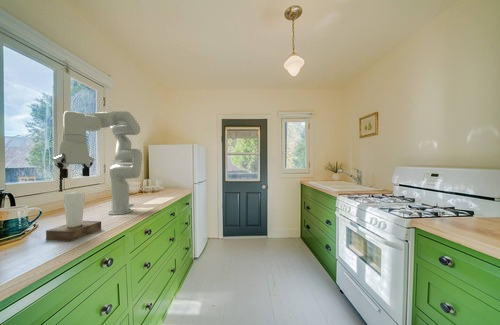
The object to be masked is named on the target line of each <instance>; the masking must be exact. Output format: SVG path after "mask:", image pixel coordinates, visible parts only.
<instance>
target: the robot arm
mask: <svg viewBox="0 0 500 325" xmlns="http://www.w3.org/2000/svg"><path fill="white" fill-rule="evenodd" d="M109 127H110V130H111V133H112V134H113V135H114V136H113V137H114V138H115V141H116V144H115V153H114V160H115V162H116V163H118V164H116V163H115V164H113V165H111V166H110V167H109V176H110V183H111V184H110V185H111V187H110V188H111V190H110V192H111V193H110V194H111V210H110V211H108V215H112V216H116V215H124V214H128V213H129V214H130V213H131V212H132V210H133V209H132V208H133V207H134V206H135V204H134V203H131V204H130V184H129V182H128V181H127V180H126V179H128V180H129V179H130V180H132V179H134V180H135V179H138V178H140V176H141V173H142V164H143V153H142V151H141V150H140V149H139V148H132V141H131V140H130V139H129V137H128V136H137V135H139V134H140V133H141V126H140V125H139V123H138V121H137V120H136V118H135V117H134V115H132V114H131V112H129V111H125V110H124V111H123V110H109V111H100V112H90V113H89V112H88V113H83V112H80V111H74V110H73V111H72V110H67V111H64V113H63V141H61V143H60V145H59V150H58V156H56V157H53V158H52V161H53V163H54V166H56V168H57V169H58V170H59V178H60V179H68V177H69V169H68V167H69V166H70V165H81V167H82V168H81V169H82V177H90V169H91V167H92V166H93V165H94V162H95V159H94V158H93V157H92V156H90V152H89V146H88V143H87V142H88V138H87V132H97V131H99V130H101V129H103V128H104V129H106V128H109ZM119 163H120V164H119Z"/></svg>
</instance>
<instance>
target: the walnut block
mask: <svg viewBox="0 0 500 325" xmlns="http://www.w3.org/2000/svg"><path fill="white" fill-rule="evenodd" d="M101 230H102V221H98V220H96V221H95V220H83V224H82V225H81V226H78V227H73V228H68V227H67V226H66V224H64V225H59V226H57V227H53V228H51V229H47V230H45V240H46V241H59V242H73V241H75V240H78V239H81V238H83V237H86V236H88V235H91V234H94V233H96V232H98V231H101Z"/></svg>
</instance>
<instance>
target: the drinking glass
mask: <svg viewBox="0 0 500 325" xmlns="http://www.w3.org/2000/svg"><path fill="white" fill-rule="evenodd" d="M63 204H64V212H65V213H64V214H65V220H66V222H65V223H66V224H65V225H66V226H67V227H68V228H73V227H78V226H81V225H82V224H83V221H84V220H83V218H84V208H85V191H73V192H65V193H63Z"/></svg>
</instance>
